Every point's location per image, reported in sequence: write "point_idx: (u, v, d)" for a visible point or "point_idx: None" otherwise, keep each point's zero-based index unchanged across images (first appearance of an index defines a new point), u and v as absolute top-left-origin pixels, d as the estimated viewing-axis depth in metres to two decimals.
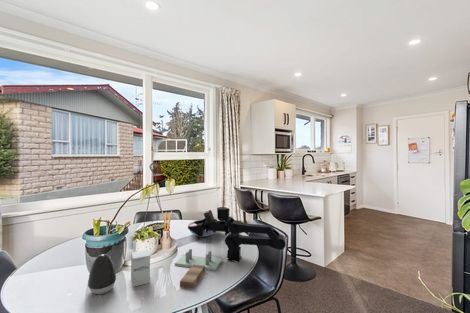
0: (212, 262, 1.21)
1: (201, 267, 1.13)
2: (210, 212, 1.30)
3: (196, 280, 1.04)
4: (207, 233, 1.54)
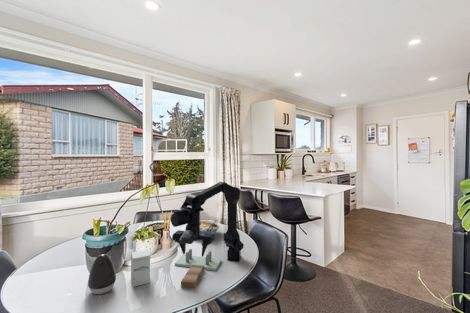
0: (212, 262, 1.21)
1: (200, 267, 1.13)
2: (186, 236, 1.00)
3: (197, 280, 1.04)
4: None
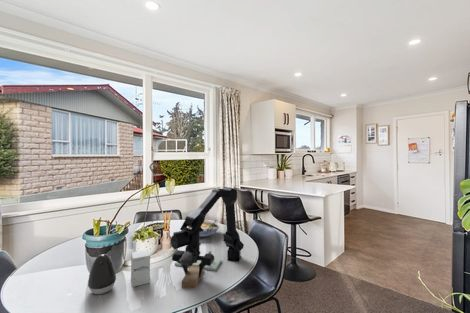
0: None
1: None
2: (185, 258, 1.00)
3: (197, 279, 1.04)
4: (207, 233, 1.54)
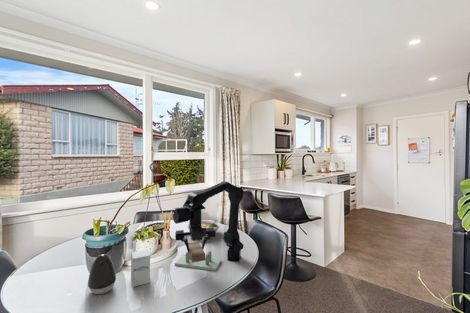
0: (212, 262, 1.21)
1: (197, 243, 1.18)
2: (196, 233, 1.04)
3: None
4: None
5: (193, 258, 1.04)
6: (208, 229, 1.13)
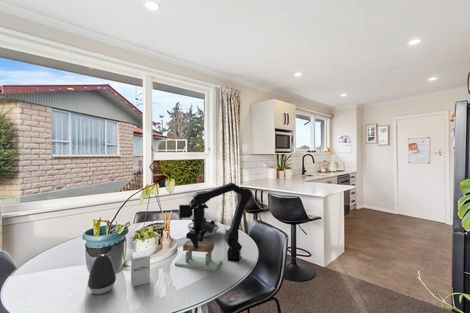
0: (212, 262, 1.21)
1: (189, 241, 1.25)
2: (212, 225, 1.20)
3: None
4: (207, 233, 1.54)
5: (211, 248, 1.19)
6: None
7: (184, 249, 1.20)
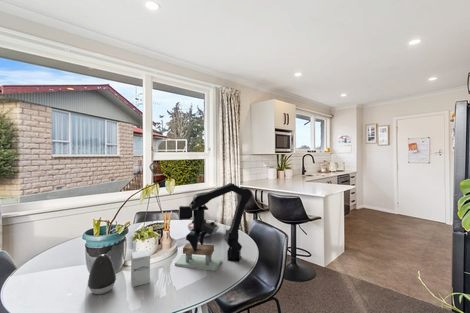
0: (212, 262, 1.21)
1: (189, 244, 1.25)
2: (212, 227, 1.20)
3: None
4: (207, 233, 1.54)
5: (211, 251, 1.19)
6: None
7: (184, 252, 1.20)
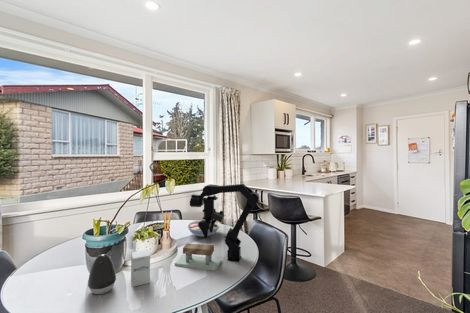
0: (212, 262, 1.21)
1: (189, 244, 1.25)
2: (221, 215, 1.28)
3: None
4: None
5: (211, 251, 1.19)
6: None
7: (184, 252, 1.20)
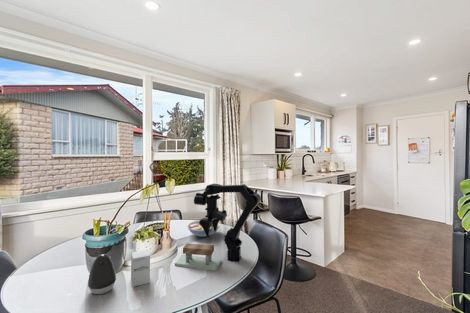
0: (212, 262, 1.21)
1: (189, 244, 1.25)
2: (223, 214, 1.30)
3: None
4: None
5: (211, 251, 1.19)
6: None
7: (184, 252, 1.20)
